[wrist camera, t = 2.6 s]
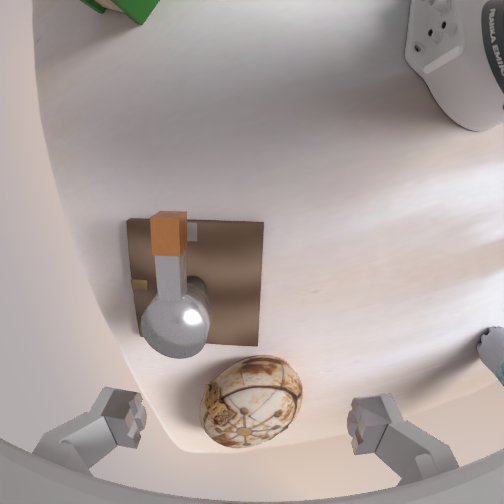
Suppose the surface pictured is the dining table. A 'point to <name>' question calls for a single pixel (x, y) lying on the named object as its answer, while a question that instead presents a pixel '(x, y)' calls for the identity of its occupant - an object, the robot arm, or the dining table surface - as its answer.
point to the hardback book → (125, 7)
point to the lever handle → (174, 293)
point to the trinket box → (251, 402)
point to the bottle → (493, 351)
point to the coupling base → (209, 274)
